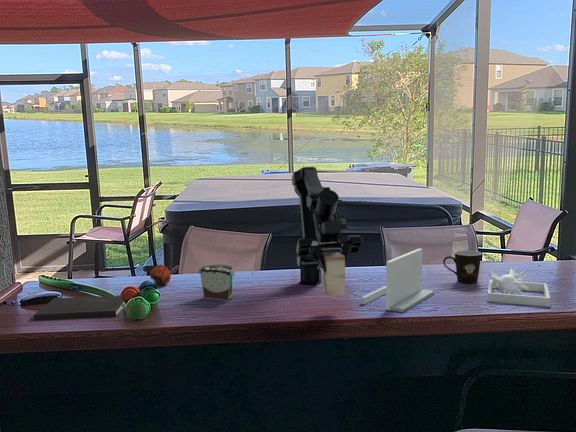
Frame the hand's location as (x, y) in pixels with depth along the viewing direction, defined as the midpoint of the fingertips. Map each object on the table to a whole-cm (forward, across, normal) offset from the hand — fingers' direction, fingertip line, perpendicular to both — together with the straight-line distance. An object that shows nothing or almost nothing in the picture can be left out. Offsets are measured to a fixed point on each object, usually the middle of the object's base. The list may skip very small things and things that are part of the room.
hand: (334, 271), depth 147 cm
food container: (-8, -31, +26) cm, 42 cm away
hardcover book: (-6, -72, +24) cm, 76 cm away
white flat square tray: (+6, +58, +11) cm, 59 cm away
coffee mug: (-8, +51, +25) cm, 57 cm away
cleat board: (+2, +22, +15) cm, 27 cm away
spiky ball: (+5, +56, +13) cm, 58 cm away
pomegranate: (-23, -52, +41) cm, 69 cm away
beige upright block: (+4, 0, +6) cm, 7 cm away
